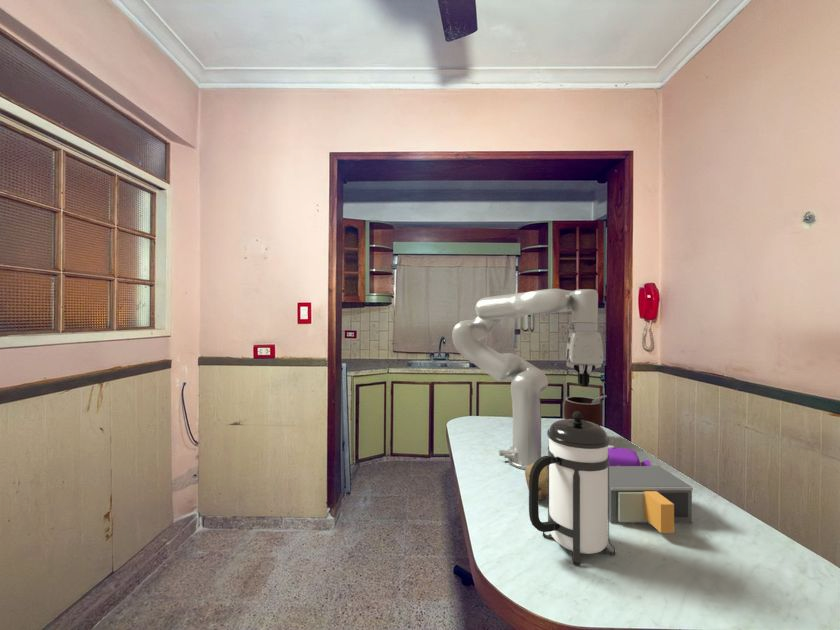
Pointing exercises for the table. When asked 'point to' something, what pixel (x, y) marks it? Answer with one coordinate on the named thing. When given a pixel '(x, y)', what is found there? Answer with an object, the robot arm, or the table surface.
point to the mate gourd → (584, 408)
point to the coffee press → (574, 487)
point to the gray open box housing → (650, 489)
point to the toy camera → (624, 457)
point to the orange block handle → (646, 509)
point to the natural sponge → (542, 480)
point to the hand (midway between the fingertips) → (583, 385)
